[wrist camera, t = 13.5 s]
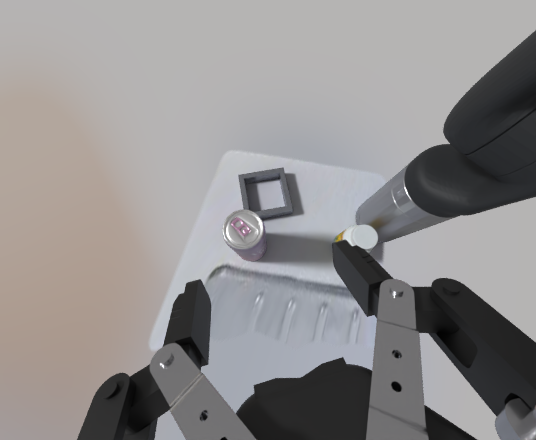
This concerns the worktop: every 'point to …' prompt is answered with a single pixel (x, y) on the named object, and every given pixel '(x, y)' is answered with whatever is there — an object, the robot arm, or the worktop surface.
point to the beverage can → (245, 234)
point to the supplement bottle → (359, 236)
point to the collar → (261, 177)
